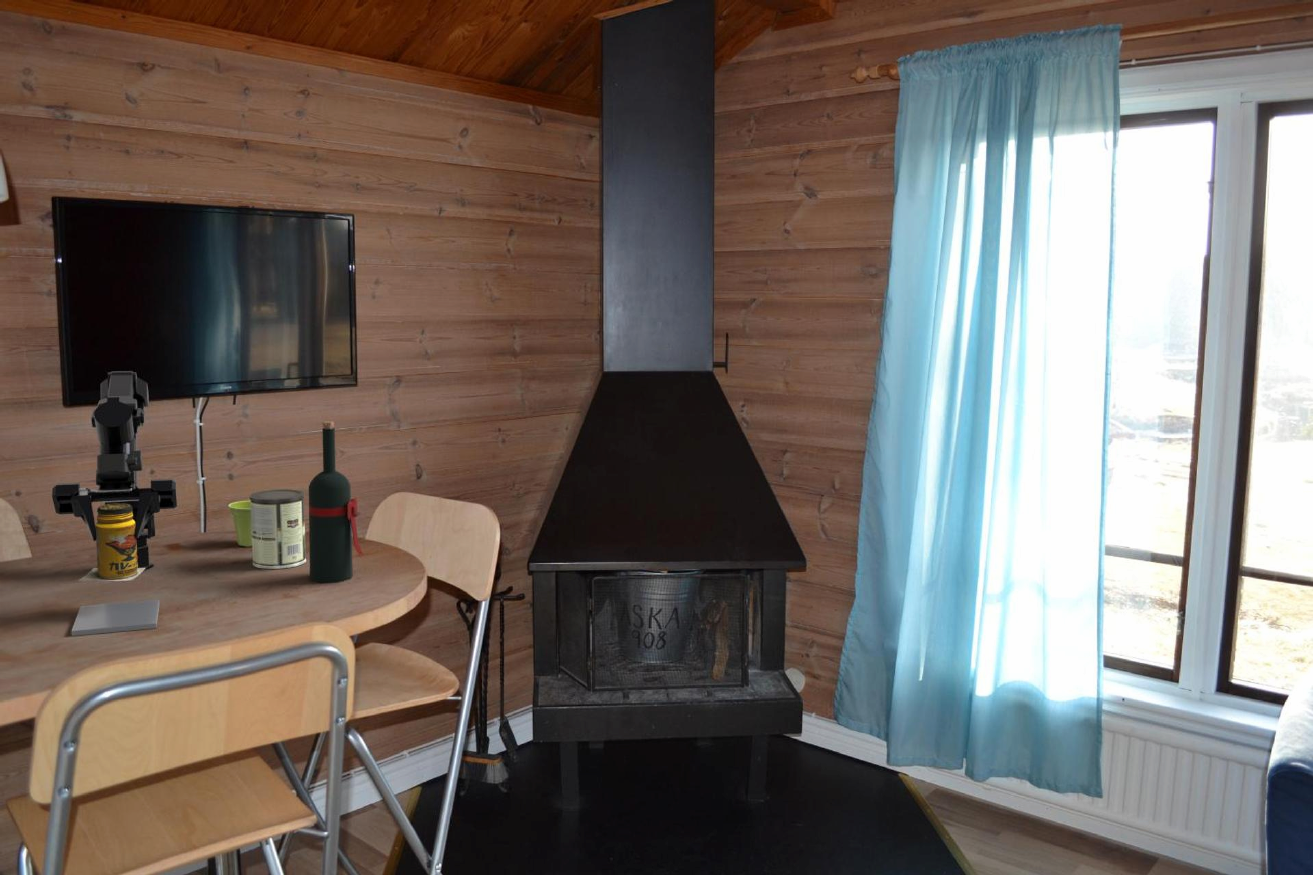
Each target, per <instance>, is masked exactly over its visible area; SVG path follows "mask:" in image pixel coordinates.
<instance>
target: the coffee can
mask: <svg viewBox="0 0 1313 875" xmlns="http://www.w3.org/2000/svg"><path fill="white" fill-rule="evenodd" d="M305 494H306V493H305V492H304V491H302V490H298V489H291V488H290V489H288V488H283V489H278V488H277V489H267V490H261V491H256V492H253V493H251V494H250V495H249V501H251V527H252V546H251V548H252V549H251V550H252V565H253V567H255V568H258V569H263V570H267V569H268V570H279V569H280V570H282V569H289V568H295V567H299V566H301V565H304V564H305V563H306V562H307V558H306V553H307V552H306V529H305V528H306V524H305V521H306V519H305V497H306V496H305Z"/></svg>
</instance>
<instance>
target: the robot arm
mask: <svg viewBox="0 0 1313 875" xmlns="http://www.w3.org/2000/svg"><path fill="white" fill-rule="evenodd" d="M149 400H150V399H149V388H148V382H146V381H144V380H143V379H141V378H139V377H138V376H137V372H133V370H128V371H127V370H124V371H122V370H119V371H111V372H107V378H106V379H104V380H103V381H102V382H101V383H100V400H99V401H98V403H97V408H95V409H93V411H92V415H91V418H90V419H91V426H92V428H93V429H95V431H96V437H97V440H98V442H99V450H98V451H99V452H98V455H96V471H95V483H96V486H97V489H89V488H87V487H81V484H80V482H68V483H67V482H66V483H64V482H63V483H56V484H55V485H54V486H52V489H51V490H52V491H51V492H52V493H51V498H52V503H53V506H54V511H55V514H58V515H73V516H74V517H75V518H81V519H82V521H83V522H84V524H85V525H86V527H87V529H88V531H89V534H90V536H91V538H92V541H93V542H96V527H95V526H96V522H95V515H94V513H95V512H94V509H93V503H100V502H101V503H104V505H107V504H115V503H124V504H129V505H131V506H132V514H133V518H132V519H133V520H134V521H135V523H136V527H135V537H136V543H137V557H138V558H137V563H138V568H145V569H144V570H146V569H149V568H152V567H153V568H154V567H155V564H154V563H153V562H150V555H149V545H148V539H149V540H150V539H152V538H154V537H156V522H155V514H158V513H160V512H161V510H167V509H168V510H169V509H175V508H177V507H178V497H177V496H178V493H177V481H175V479H173V478H158V479H156V478H155V479H150V487H144V488H143V487H142V488H141V487H139V486H138V472H142V471H143V469H144V468H143V451H142V450H138V431H139V428H141V429H142V427H143V426H144V423H145V422H146V408H149V406H150V403H149Z"/></svg>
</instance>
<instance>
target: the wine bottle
mask: <svg viewBox="0 0 1313 875" xmlns="http://www.w3.org/2000/svg"><path fill="white" fill-rule="evenodd" d="M334 426H335V421H332V420H331V421H329V420H328V421H327V420H325V421H322V464H323V465H322V471H321V472H319V473H318V474H316V475H315V476H313V478H312V479H311V481H310V483H309V485H308V529H309V530H308V533H309V534H308V535H309V537H308V539H309V540H308V541H309V580H310V581H312V582H315V583H321V584H331V583H330V582H335V583H341V582H340V581H342V582H345V581H344V580H346V581H348V580H347V579H349V578H351V579H352V578H353V576H354V572H353V569H354V566H353V546H354V547H355V550H356V552H357V553H358V556H359V558H362V557H361V555H362V556H365V555H364V553H363V551H362V549H361V546H360V543H359V537H358V530H357V521H356V520H357V519H356V518H357V517H358V499H357V497H353V498H351V497H352V494H351V493H352V492H351V490H352V489H351V483H350V480H349V479H348V478H347V477H346V476H345V474H342V473H341V472H339V471H337V470H336V433H335V430H336V429H335V427H334ZM349 580H350V579H349ZM328 582H329V583H328Z"/></svg>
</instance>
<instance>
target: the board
mask: <svg viewBox="0 0 1313 875" xmlns="http://www.w3.org/2000/svg"><path fill="white" fill-rule="evenodd" d="M159 610H160V599H148V600H136V601H125V602H113V603H102V604H90V605H89V604H88V605H80V606H79V610H78V612H77V615H76V618H75V620H74V623H73V626H72V628H71V637H75V636H84V635H85V636H86V635H97V634H107V633H117V632H118V633H119V632H130V631H138V630H139V631H140V630H149V629H150V630H151V629H152V630H153V629H157V627H158V626H157V624H158V619H159Z"/></svg>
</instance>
